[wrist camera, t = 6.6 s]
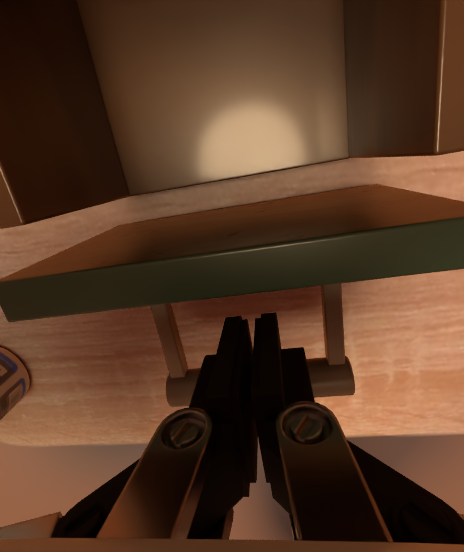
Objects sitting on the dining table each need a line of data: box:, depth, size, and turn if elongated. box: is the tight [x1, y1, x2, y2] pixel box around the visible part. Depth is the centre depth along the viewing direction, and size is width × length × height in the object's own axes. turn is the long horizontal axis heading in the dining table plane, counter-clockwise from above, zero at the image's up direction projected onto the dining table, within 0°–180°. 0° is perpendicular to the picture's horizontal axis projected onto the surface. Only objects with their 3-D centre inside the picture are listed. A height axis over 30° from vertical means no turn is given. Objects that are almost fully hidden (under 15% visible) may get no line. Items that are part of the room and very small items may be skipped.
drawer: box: [0, 0, 464, 407], centre depth 10 cm, size 19×12×8 cm, turn 10°
